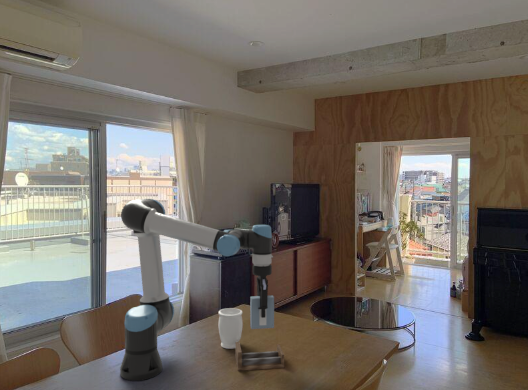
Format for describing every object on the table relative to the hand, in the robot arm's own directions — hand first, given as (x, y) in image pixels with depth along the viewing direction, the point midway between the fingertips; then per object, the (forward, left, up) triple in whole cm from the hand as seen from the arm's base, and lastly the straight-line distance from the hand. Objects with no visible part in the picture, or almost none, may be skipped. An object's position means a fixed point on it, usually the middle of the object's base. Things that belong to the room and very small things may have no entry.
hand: (262, 323), depth 155 cm
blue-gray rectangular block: (0, 0, -2) cm, 2 cm away
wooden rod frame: (-1, 0, -16) cm, 16 cm away
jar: (-11, +19, -16) cm, 27 cm away
